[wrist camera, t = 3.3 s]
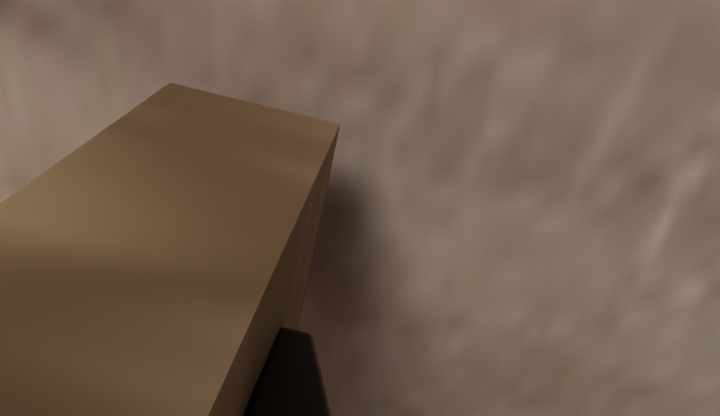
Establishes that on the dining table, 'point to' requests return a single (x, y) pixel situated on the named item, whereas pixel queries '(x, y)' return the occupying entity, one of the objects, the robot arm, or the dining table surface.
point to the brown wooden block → (160, 259)
